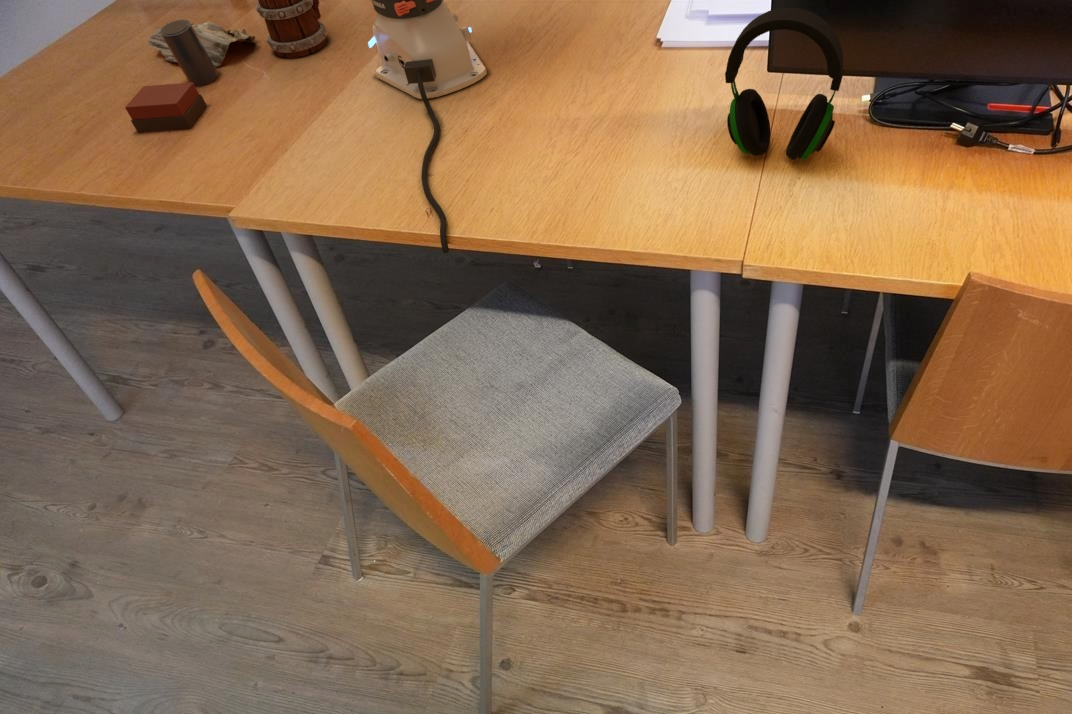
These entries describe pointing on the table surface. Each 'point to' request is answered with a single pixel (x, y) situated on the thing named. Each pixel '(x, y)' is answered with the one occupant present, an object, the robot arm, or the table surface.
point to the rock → (204, 41)
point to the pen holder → (189, 52)
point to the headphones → (749, 109)
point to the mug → (293, 26)
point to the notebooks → (166, 107)
